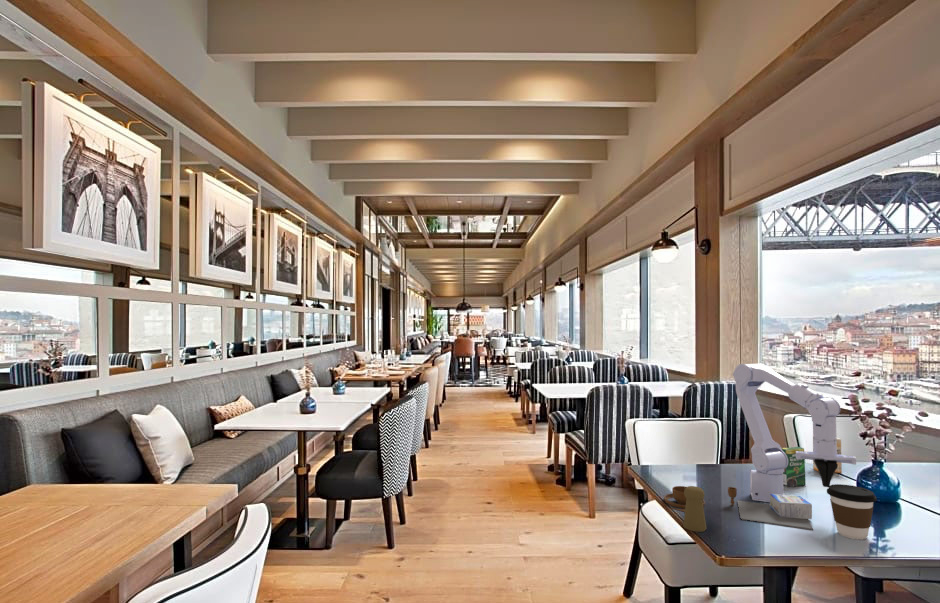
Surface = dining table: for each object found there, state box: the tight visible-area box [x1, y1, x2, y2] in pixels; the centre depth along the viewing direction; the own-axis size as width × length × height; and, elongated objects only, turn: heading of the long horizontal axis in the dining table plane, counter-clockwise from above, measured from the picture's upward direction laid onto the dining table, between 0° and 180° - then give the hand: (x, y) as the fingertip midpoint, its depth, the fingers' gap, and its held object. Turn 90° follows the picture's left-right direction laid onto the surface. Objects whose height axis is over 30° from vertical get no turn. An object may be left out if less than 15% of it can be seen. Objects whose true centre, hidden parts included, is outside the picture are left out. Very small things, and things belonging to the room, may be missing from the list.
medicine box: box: [769, 494, 813, 520], centre depth 153 cm, size 8×4×9 cm
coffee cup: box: [826, 483, 877, 541], centre depth 139 cm, size 11×11×12 cm
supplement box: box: [812, 437, 843, 474], centre depth 200 cm, size 8×5×13 cm, turn 81°
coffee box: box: [781, 446, 807, 488], centre depth 182 cm, size 8×3×13 cm, turn 101°
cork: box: [682, 485, 707, 533], centre depth 143 cm, size 6×6×11 cm
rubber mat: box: [737, 500, 814, 531], centre depth 153 cm, size 18×17×1 cm
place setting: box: [663, 485, 738, 513], centre depth 161 cm, size 18×20×6 cm
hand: (825, 486), depth 151 cm, fingers closed
